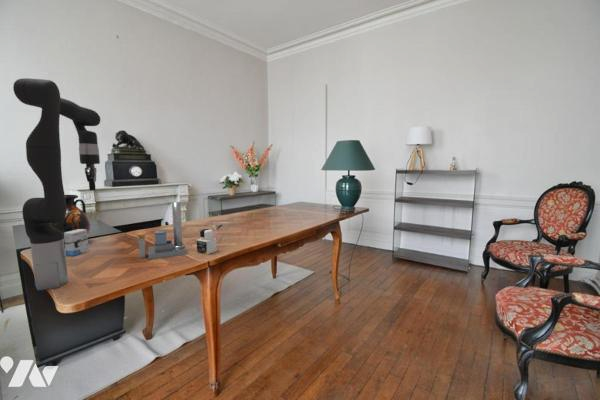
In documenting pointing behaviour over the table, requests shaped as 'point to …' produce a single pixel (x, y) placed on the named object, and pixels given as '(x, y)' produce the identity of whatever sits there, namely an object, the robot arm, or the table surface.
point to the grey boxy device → (206, 242)
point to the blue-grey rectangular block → (160, 237)
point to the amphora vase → (73, 217)
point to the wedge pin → (141, 236)
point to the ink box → (76, 242)
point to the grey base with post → (168, 248)
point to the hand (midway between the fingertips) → (92, 190)
